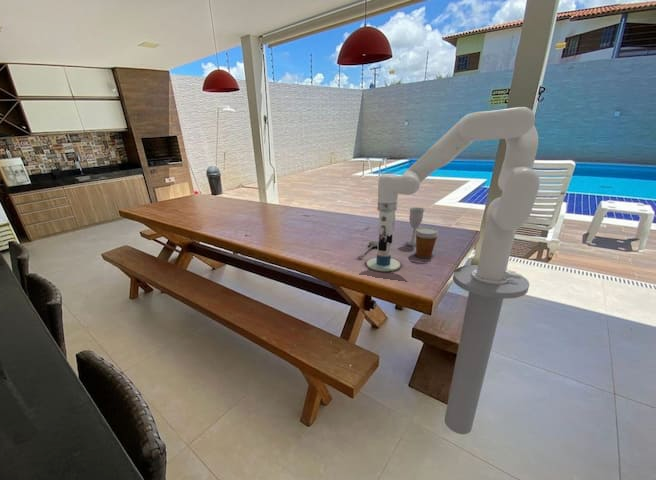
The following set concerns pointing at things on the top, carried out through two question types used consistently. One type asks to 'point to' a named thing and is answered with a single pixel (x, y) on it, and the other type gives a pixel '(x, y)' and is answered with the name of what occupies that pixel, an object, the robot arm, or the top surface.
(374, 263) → the saucer
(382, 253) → the cylinder
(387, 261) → the cylinder
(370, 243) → the soupspoon
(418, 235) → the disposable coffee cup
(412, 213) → the chalice
